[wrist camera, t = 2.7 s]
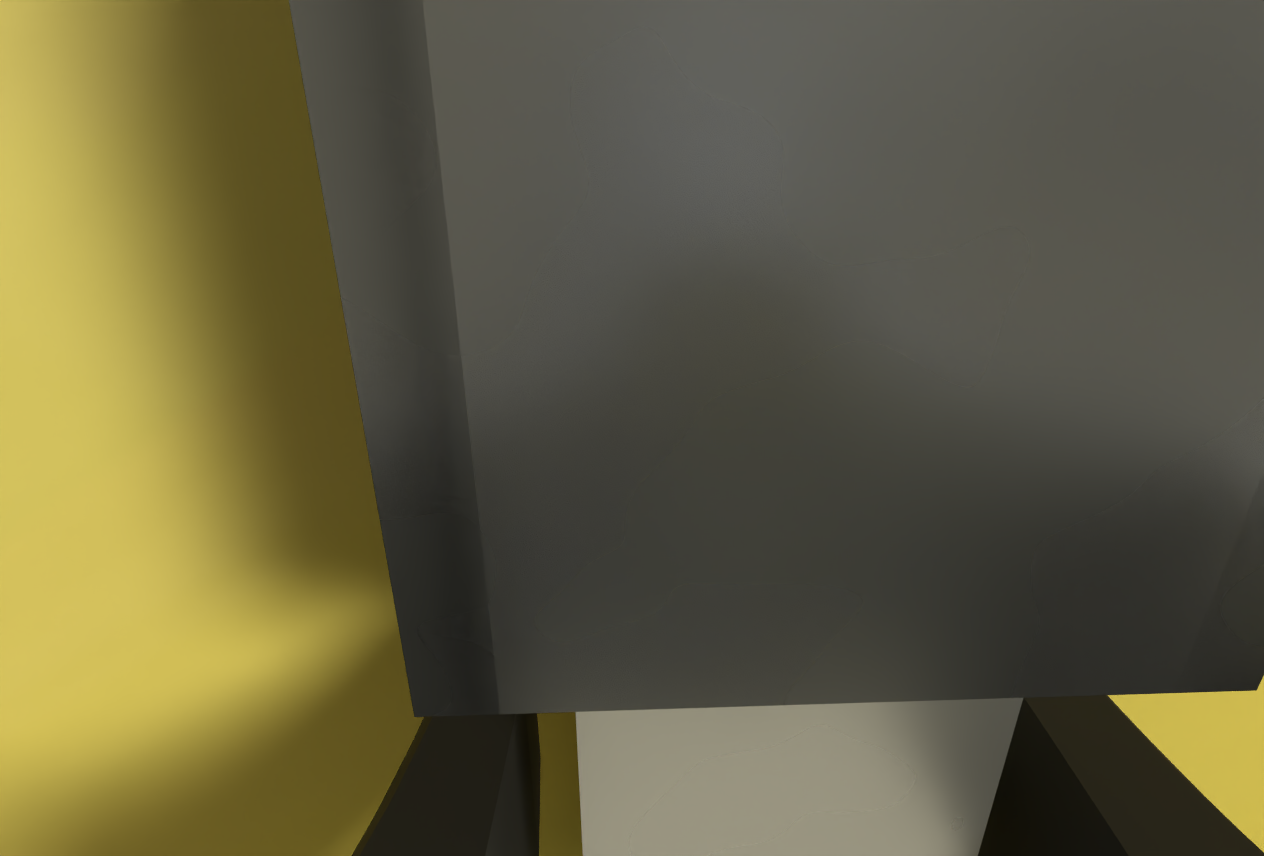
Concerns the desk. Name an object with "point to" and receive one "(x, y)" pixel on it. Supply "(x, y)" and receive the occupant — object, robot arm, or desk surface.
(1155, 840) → the robot arm
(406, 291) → the sleeve
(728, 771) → the long grey plank
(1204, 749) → the desk surface
